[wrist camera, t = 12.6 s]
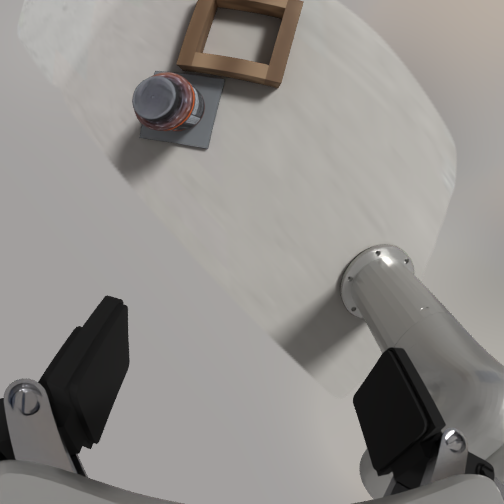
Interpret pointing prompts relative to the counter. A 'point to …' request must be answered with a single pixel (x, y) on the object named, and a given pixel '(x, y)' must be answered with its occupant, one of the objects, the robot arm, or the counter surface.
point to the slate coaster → (203, 128)
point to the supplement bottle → (168, 103)
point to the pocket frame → (194, 60)
